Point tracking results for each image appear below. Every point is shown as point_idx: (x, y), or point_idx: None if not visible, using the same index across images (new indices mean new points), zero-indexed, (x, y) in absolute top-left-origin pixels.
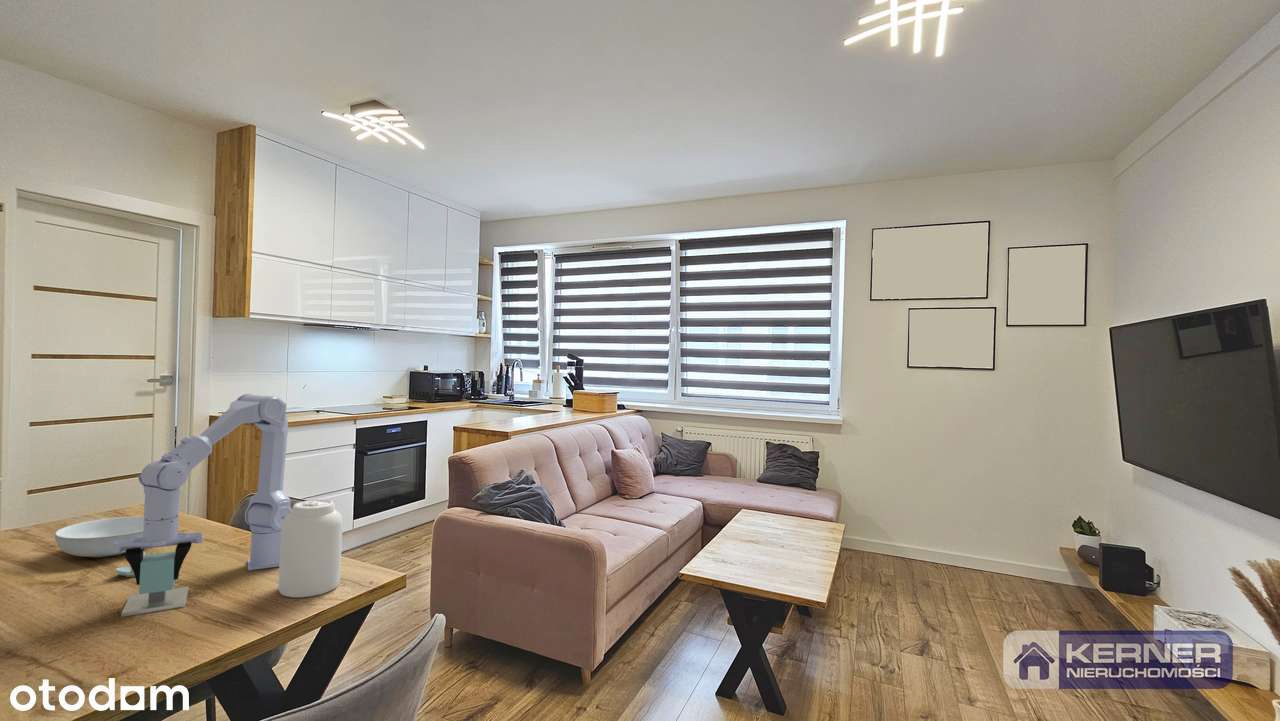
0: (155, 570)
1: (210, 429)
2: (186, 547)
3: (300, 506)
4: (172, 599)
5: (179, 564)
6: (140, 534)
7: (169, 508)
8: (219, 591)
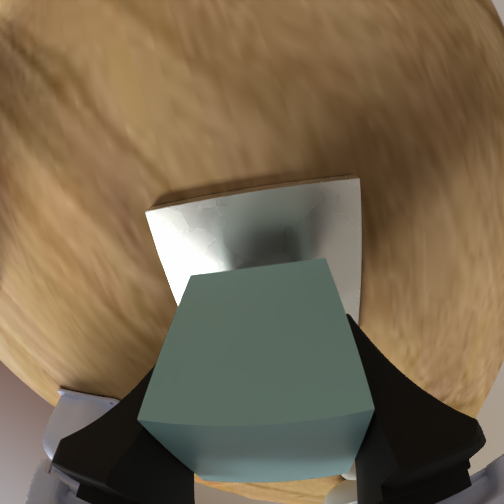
0: (262, 357)
1: None
2: (61, 469)
3: None
4: (205, 264)
5: (143, 388)
6: (350, 498)
7: None
8: (107, 309)
